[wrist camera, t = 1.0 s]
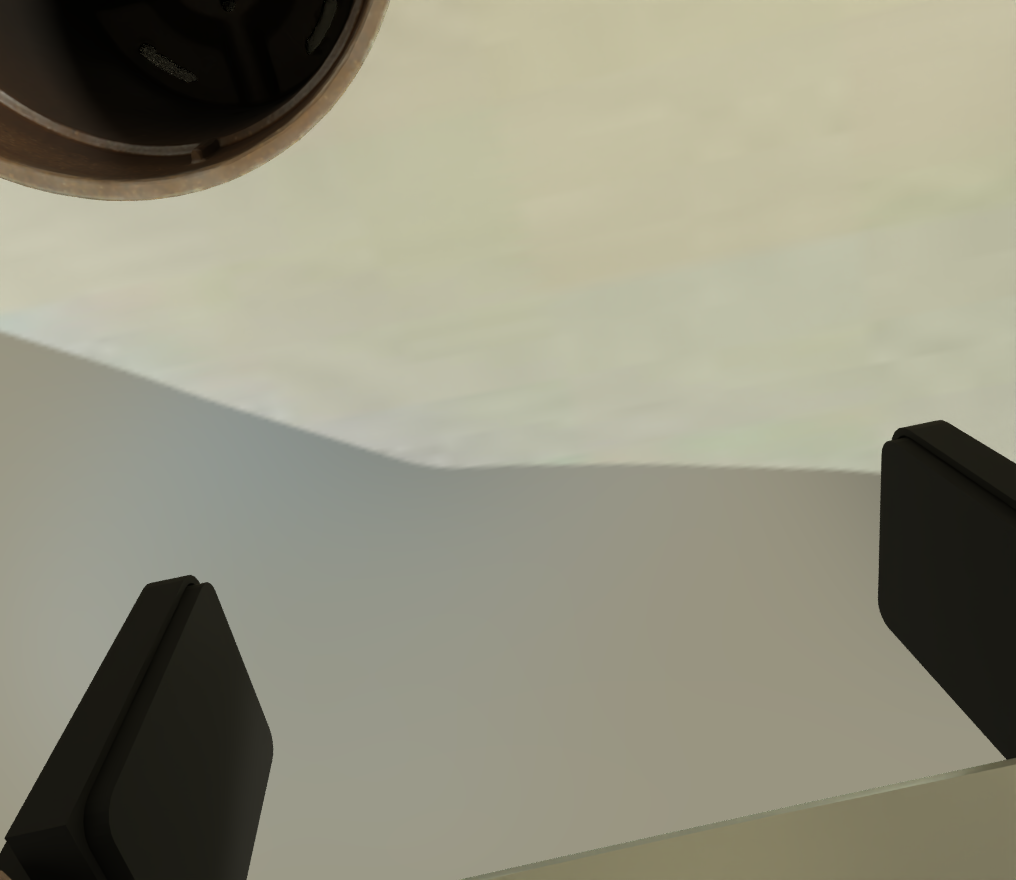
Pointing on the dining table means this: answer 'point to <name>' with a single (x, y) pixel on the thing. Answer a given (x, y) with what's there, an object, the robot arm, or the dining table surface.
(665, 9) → the dining table surface
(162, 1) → the plant pot
